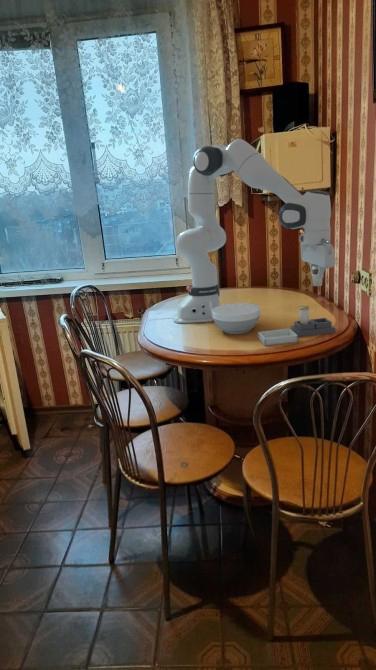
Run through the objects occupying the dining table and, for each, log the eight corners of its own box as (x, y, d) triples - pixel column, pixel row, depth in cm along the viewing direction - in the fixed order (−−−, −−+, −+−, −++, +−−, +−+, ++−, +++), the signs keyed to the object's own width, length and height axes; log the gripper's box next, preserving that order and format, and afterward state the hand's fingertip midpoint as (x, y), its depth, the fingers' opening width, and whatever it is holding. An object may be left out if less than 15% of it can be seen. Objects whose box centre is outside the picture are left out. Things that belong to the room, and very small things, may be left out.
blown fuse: (314, 286, 168) (314, 264, 166) (311, 284, 171) (311, 262, 169) (323, 285, 168) (323, 263, 166) (320, 283, 172) (320, 262, 169)
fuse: (301, 329, 172) (301, 308, 170) (298, 326, 176) (297, 306, 173) (310, 328, 173) (310, 307, 170) (307, 325, 176) (307, 305, 174)
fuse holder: (298, 337, 171) (298, 326, 170) (291, 330, 178) (290, 320, 177) (335, 332, 172) (335, 322, 171) (326, 326, 180) (326, 316, 178)
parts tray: (264, 346, 164) (264, 339, 164) (258, 338, 173) (258, 332, 172) (298, 342, 165) (297, 335, 165) (289, 334, 174) (289, 328, 173)
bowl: (213, 325, 195) (211, 304, 192) (258, 321, 194) (257, 301, 191) (213, 339, 177) (212, 316, 174) (263, 335, 176) (263, 313, 173)
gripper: (340, 239, 155) (339, 280, 160) (313, 234, 175) (313, 271, 179) (322, 241, 155) (321, 282, 159) (297, 236, 174) (297, 273, 178)
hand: (317, 276), depth 169 cm, fingers closed on blown fuse, 3 cm apart
